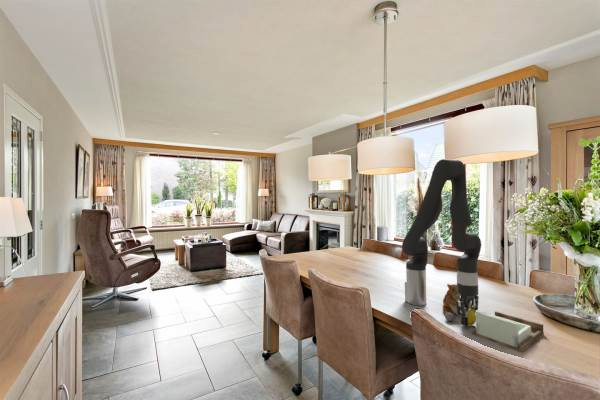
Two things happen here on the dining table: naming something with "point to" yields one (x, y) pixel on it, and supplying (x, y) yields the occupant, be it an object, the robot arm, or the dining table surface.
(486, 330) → the pale green block
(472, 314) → the lemon
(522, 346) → the rail board
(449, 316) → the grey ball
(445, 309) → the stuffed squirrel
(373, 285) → the dining table surface
